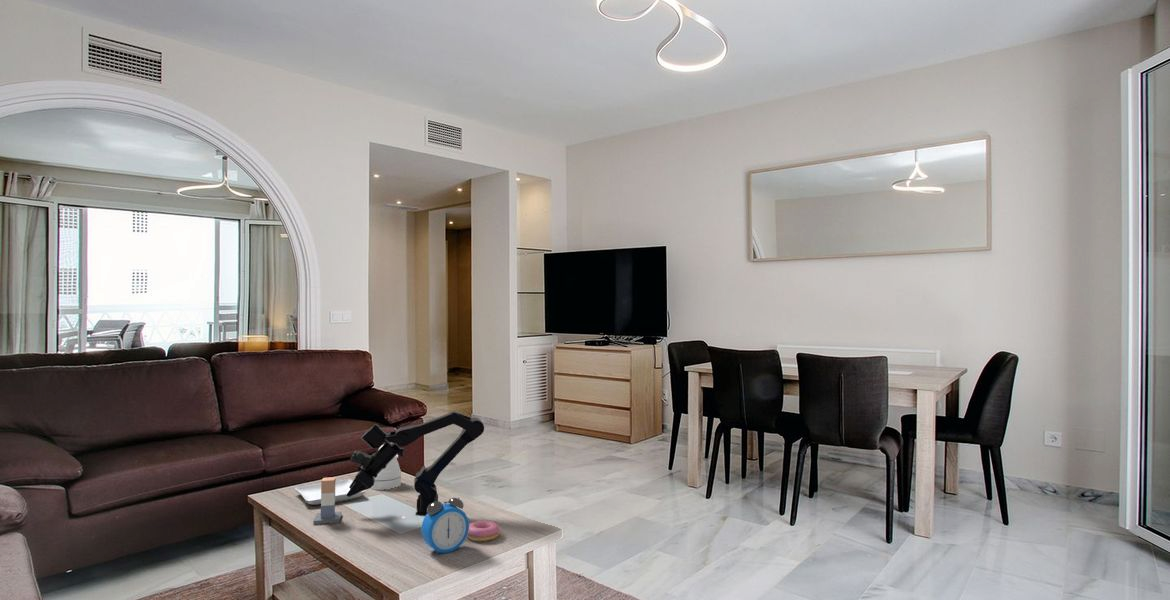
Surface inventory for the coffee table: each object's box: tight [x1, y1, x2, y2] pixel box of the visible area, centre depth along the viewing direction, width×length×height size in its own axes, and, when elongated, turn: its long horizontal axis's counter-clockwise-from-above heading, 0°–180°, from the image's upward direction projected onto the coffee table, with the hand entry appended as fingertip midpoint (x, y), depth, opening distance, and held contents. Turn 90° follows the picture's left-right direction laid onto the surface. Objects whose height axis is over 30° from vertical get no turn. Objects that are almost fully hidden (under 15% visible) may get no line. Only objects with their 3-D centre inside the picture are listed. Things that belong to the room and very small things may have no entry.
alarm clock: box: [420, 497, 470, 556], centre depth 187 cm, size 13×6×15 cm, turn 128°
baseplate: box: [312, 511, 343, 525], centre depth 212 cm, size 8×8×1 cm
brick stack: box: [320, 476, 337, 519], centre depth 212 cm, size 4×4×13 cm
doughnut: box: [466, 520, 501, 542], centre depth 199 cm, size 11×11×4 cm
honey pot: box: [371, 442, 402, 491], centre depth 254 cm, size 13×13×18 cm
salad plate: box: [294, 478, 367, 506], centre depth 238 cm, size 21×21×3 cm
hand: (348, 491), depth 214 cm, fingers open, 9 cm apart
